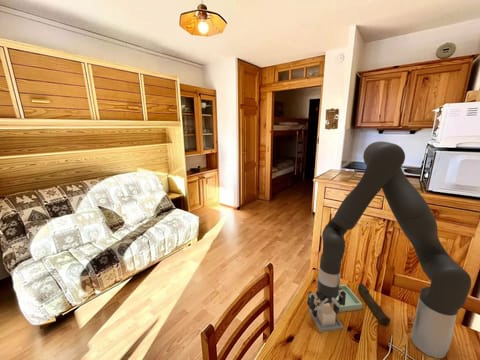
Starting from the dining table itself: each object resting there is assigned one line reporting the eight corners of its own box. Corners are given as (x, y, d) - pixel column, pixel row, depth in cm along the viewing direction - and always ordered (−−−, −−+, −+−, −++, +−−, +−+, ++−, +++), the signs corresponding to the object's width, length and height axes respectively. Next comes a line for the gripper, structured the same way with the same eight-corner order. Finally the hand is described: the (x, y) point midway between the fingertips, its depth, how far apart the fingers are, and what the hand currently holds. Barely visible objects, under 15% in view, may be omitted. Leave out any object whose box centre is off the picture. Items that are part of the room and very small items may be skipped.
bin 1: (329, 309, 88) (330, 306, 87) (343, 329, 79) (343, 326, 78) (308, 312, 86) (309, 309, 86) (319, 333, 78) (320, 330, 77)
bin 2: (345, 289, 98) (346, 284, 97) (361, 309, 87) (362, 304, 86) (322, 292, 96) (323, 287, 96) (336, 313, 86) (337, 307, 85)
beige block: (327, 313, 85) (328, 303, 84) (334, 324, 80) (335, 313, 79) (316, 315, 84) (316, 304, 83) (322, 326, 80) (323, 315, 78)
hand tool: (390, 326, 80) (392, 316, 79) (379, 326, 80) (380, 316, 79) (364, 289, 98) (365, 281, 97) (355, 289, 98) (356, 280, 97)
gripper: (315, 288, 73) (312, 325, 77) (353, 284, 75) (347, 320, 79) (306, 274, 81) (303, 308, 85) (340, 270, 82) (336, 304, 86)
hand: (324, 314), depth 82 cm, fingers open, 8 cm apart
